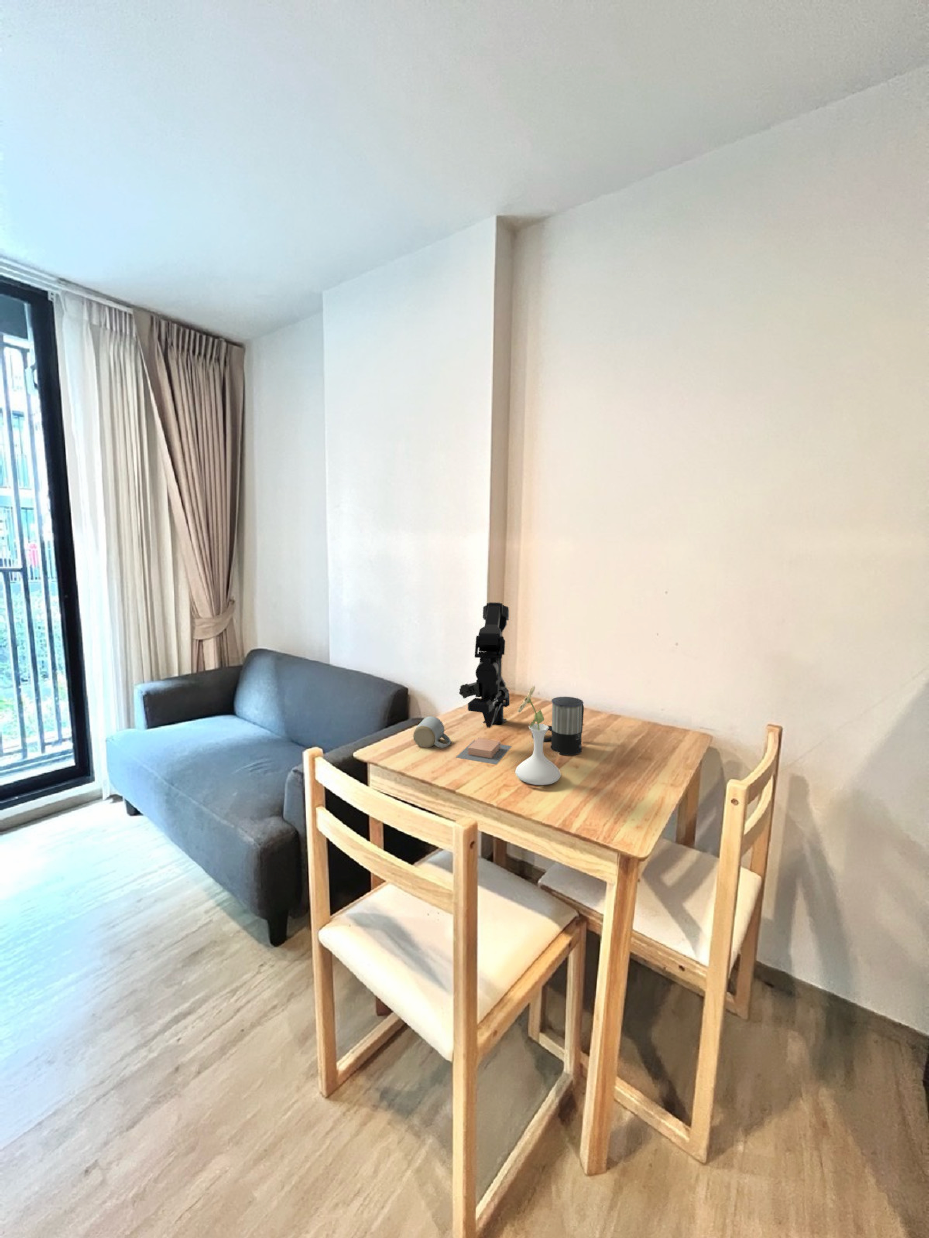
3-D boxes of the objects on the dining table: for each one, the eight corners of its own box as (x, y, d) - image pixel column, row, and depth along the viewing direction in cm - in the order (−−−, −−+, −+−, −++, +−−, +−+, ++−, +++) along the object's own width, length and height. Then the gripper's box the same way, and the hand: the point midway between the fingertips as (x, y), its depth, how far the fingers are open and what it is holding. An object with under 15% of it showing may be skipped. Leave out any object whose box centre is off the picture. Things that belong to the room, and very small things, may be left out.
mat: (474, 741, 150) (474, 740, 150) (511, 747, 145) (511, 746, 145) (455, 758, 137) (455, 757, 137) (496, 766, 132) (496, 764, 132)
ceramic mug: (411, 748, 145) (411, 723, 144) (421, 738, 153) (421, 714, 152) (445, 752, 142) (446, 727, 141) (453, 742, 150) (454, 718, 149)
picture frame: (478, 737, 146) (467, 747, 138) (500, 741, 143) (491, 751, 136) (478, 744, 146) (467, 754, 139) (500, 748, 143) (491, 758, 136)
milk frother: (580, 758, 138) (581, 707, 136) (525, 750, 143) (525, 701, 141) (585, 740, 151) (586, 693, 149) (534, 734, 156) (535, 688, 155)
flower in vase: (530, 765, 133) (532, 675, 130) (568, 777, 126) (571, 682, 122) (502, 782, 123) (503, 685, 120) (542, 797, 116) (544, 693, 112)
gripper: (475, 666, 153) (475, 714, 155) (450, 679, 136) (450, 733, 138) (509, 669, 149) (508, 719, 151) (488, 683, 132) (487, 739, 134)
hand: (488, 727), depth 143 cm, fingers closed
